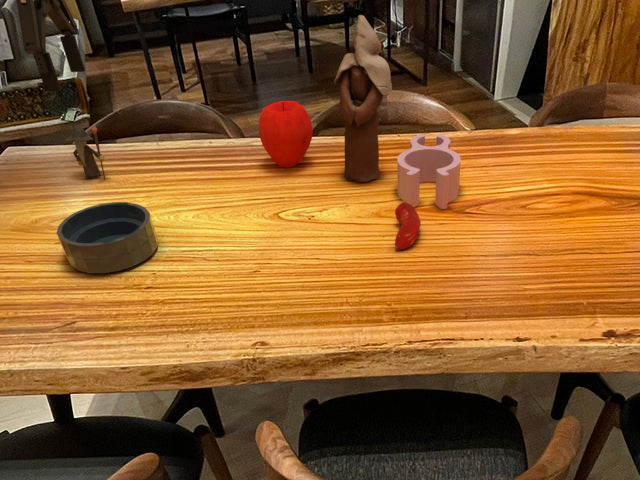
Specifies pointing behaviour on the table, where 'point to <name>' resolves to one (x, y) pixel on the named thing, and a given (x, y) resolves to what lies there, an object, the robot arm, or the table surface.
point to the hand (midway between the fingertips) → (66, 80)
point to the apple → (285, 132)
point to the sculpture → (362, 102)
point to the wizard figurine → (86, 151)
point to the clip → (428, 170)
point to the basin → (108, 237)
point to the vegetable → (406, 225)
